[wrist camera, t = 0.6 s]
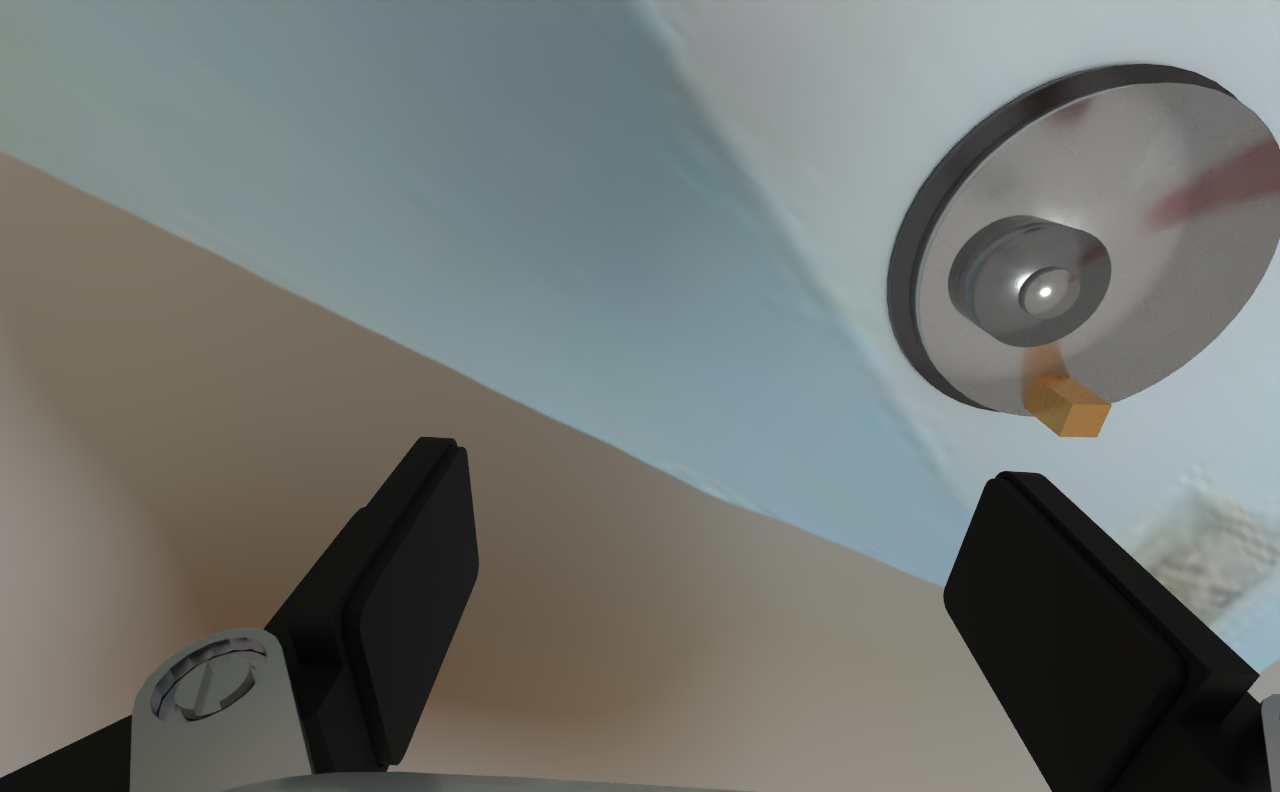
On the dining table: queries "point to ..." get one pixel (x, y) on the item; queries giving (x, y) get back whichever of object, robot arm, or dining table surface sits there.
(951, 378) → the turntable
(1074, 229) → the cover
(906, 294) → the turntable base
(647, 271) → the dining table surface
